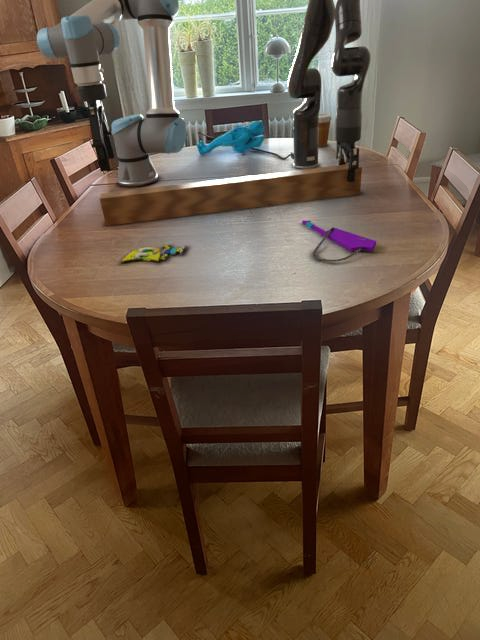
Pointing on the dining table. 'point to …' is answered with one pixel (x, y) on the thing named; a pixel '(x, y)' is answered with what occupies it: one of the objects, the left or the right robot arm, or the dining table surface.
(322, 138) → the disposable coffee cup
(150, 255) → the toy
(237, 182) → the post
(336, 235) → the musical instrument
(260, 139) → the toy
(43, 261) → the dining table surface
